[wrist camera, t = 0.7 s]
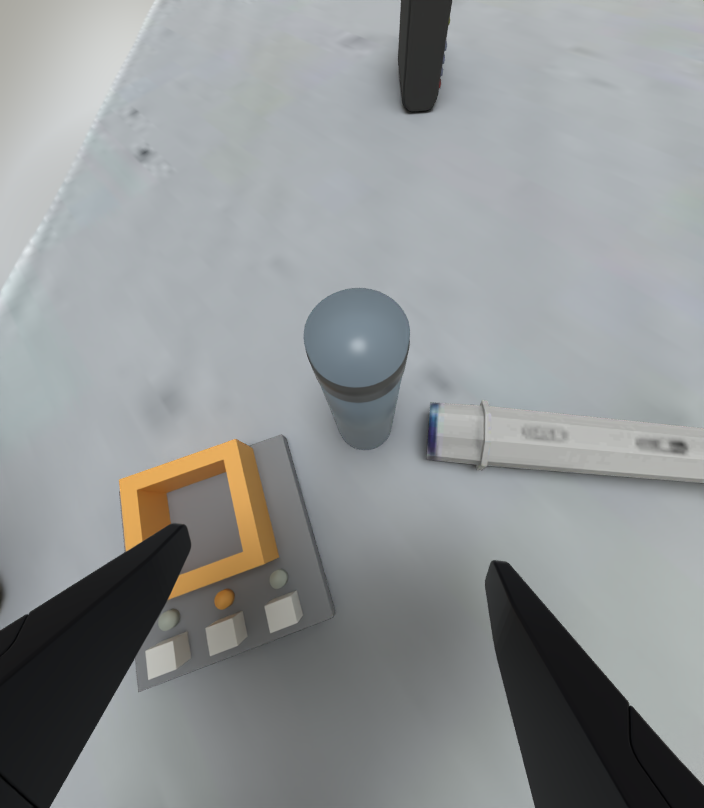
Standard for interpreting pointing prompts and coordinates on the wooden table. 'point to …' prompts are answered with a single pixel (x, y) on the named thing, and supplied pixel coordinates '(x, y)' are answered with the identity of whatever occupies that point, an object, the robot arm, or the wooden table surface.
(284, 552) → the panel
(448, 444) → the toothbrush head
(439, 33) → the black upright block
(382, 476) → the wooden table surface
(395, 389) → the plug
